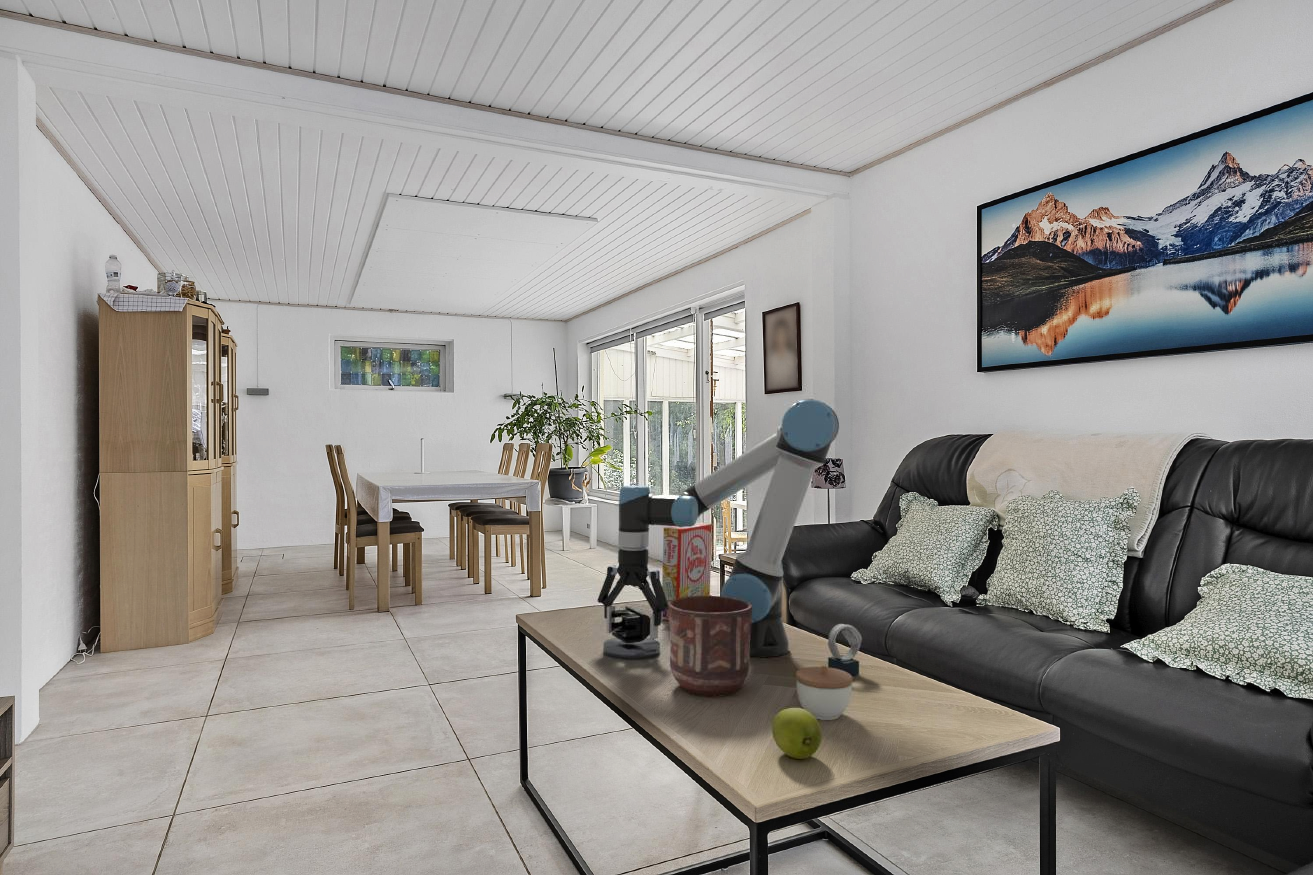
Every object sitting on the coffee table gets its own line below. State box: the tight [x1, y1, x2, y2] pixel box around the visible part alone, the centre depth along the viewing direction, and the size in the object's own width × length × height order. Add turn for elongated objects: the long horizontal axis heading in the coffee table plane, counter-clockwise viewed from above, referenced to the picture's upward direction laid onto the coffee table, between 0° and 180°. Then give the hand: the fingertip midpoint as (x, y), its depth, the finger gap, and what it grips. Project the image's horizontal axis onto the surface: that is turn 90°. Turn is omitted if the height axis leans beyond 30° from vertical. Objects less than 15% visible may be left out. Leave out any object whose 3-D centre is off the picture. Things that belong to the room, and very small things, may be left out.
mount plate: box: [602, 637, 661, 661], centre depth 192 cm, size 14×14×2 cm
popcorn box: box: [661, 521, 712, 621], centre depth 234 cm, size 20×6×27 cm, turn 149°
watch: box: [827, 623, 863, 677], centre depth 177 cm, size 6×8×11 cm
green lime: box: [771, 707, 823, 760], centre depth 130 cm, size 8×9×8 cm
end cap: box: [611, 606, 650, 643], centre depth 192 cm, size 10×7×7 cm
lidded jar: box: [795, 665, 853, 721], centre depth 150 cm, size 11×11×9 cm
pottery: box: [668, 595, 752, 697], centre depth 165 cm, size 18×18×18 cm
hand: (631, 635), depth 192 cm, fingers closed on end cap, 12 cm apart
